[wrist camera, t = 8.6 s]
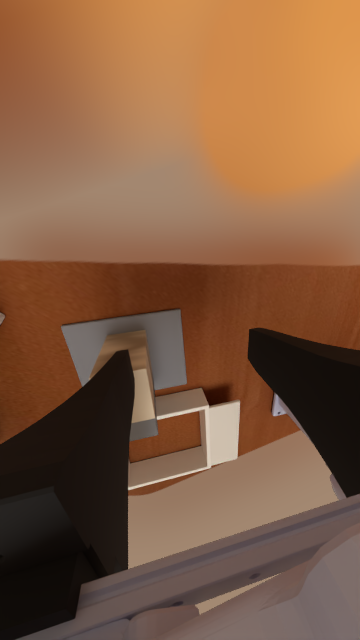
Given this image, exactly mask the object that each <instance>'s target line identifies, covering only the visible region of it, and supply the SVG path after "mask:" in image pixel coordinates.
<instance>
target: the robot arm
mask: <svg viewBox="0 0 360 640" xmlns="http://www.w3.org/2000/svg"><path fill="white" fill-rule="evenodd" d="M248 359H249V361H250V363H251V364H252V366H253V367H254V369H255V370H256V372H257V373H258V374H259V375H260V376H261V377H262V379H263V380H264V381H265V382H266V383H267V384H268V385H269V386H270V388H271V389H272V390H273V391H274V392H275V393H274V400H273V408H272V414H273V416H278V415H282V414H286V413H287V414H288V415H289V417H290V418H291V419H292V420H293V421H294V422H295V423H296V425H297V426H298V427H299V428H300V429H301V430H302V432H303V433H304V434H305V435H306V436H307V437H308V438H309V439H310V440H311V442H312V443H313V444H314V445H315V447H316V449H317V450H318V452H319V453H320V455H321V456H322V458H323V459H324V461H325V463H326V465H327V467H328V468H329V469H330V471H331V472H332V474H331V475H330V480H331V483H332V488H333V490H334V492H335V494H336V496H337V498H338V499H339V501H336V502H333V503H330V504H327V505H324V506H321V507H318V508H314V509H312V510H308V511H305V512H302V513H299V514H296V515H293V516H290V517H287V518H284V519H281V520H278V521H275V522H272V523H268V524H265V525H262V526H259V527H256V528H253V529H250V530H247V531H244V532H241V533H238V534H235V535H232V536H229V537H226V538H222V539H219V540H216V541H213V542H210V543H207V544H204V545H201V546H198V547H195V548H192V549H189V550H186V551H183V552H179V553H176V554H173V555H170V556H167V557H164V558H161V559H158V560H155V561H152V562H149V563H146V564H143V565H140V566H137V567H134V568H130V569H128V465H129V441H130V431H131V423H132V415H133V407H134V399H135V378H134V373H133V369H132V364H131V360H130V355H129V351H128V349H126V350H120V351H116V352H115V353H114V355H113V356H112V357H111V358H110V359H109V360H108V361H107V362H106V364H105V365H104V366H103V367H102V368H101V369H100V370H99V371H98V372H97V373H96V374H95V375H94V376H93V377H92V378H91V379H90V380H89V381H88V382H87V383H86V384H85V385H84V386H83V387H82V388H81V389H80V390H78V391H77V392H76V393H75V394H74V395H72V396H71V397H70V398H69V399H68V400H66V401H65V402H64V403H62V404H61V405H60V406H58V407H57V408H56V409H54V410H53V411H51V412H50V413H49V414H47V415H46V416H44V417H43V418H42V419H40V420H39V421H37V422H36V423H34V424H33V425H31V426H30V427H28V428H27V429H25V430H23V431H22V432H20V433H19V434H17V435H15V436H14V437H12V438H10V439H9V440H7V441H5V442H4V443H2V444H0V640H360V350H354V349H347V348H341V347H336V346H331V345H326V344H321V343H317V342H313V341H309V340H305V339H301V338H297V337H293V336H290V335H286V334H283V333H279V332H276V331H272V330H268V329H264V328H254V329H249V344H248ZM282 572H283V573H282ZM279 573H281V574H279ZM276 574H279V575H277V576H275V577H273V578H271V579H269V580H267V581H265V582H264V583H262V584H260V585H257V586H256V587H254V588H252V589H250V590H248V591H246V592H244V593H242V594H240V595H238V596H236V597H234V598H232V599H230V600H228V601H226V602H224V603H222V604H221V605H218V606H216V607H214V608H212V609H211V610H209V611H207V612H205V613H203V614H201V615H199V610H198V608H197V607H196V606H195V604H198V603H201V602H203V601H206V600H209V599H212V598H214V597H217V596H219V595H222V594H225V593H228V592H231V591H233V590H236V589H239V588H241V587H244V586H246V585H249V584H252V583H255V582H257V581H260V580H263V579H265V578H268V577H271V576H274V575H276Z"/></svg>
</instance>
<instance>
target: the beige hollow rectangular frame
mask: <svg viewBox="0 0 360 640" xmlns="http://www.w3.org/2000/svg"><path fill="white" fill-rule="evenodd" d="M155 401H156V414H157V420H158V419H163V418H167V417H172V416H176V415H181V414H185V413H190V412H194V411H199V413H200V430H201V446H199V447H195V448H191V449H187V450H183V451H179V452H175V453H171V454H167V455H163V456H159V457H155V458H151V459H147V460H143V461H139V462H135V463H131V464H130V461H129V465H128V490H130V489H134V488H138V487H142V486H145V485H149V484H153V483H156V482H160V481H164V480H168V479H171V478H175V477H179V476H183V475H186V474H190V473H194V472H198V471H201V470H205V469H209V468H211V466H212V465H216V464H219V463H223V462H227V461H231V460H234V459H237V453H238V433H239V413H240V401H239V400H235V401H230V402H226V403H221V404H217V405H212V406H209V404H208V402H207V400H206V397H205V395H204V392H203V390H202V388H198V389H193V390H188V391H183V392H178V393H173V394H168V395H164V396H159V397H155Z"/></svg>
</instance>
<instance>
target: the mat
mask: <svg viewBox="0 0 360 640" xmlns="http://www.w3.org/2000/svg"><path fill="white" fill-rule="evenodd" d="M61 328H62V331H63V334H64V337H65V340H66V342H67V345H68V348H69V351H70V354H71V356H72V359H73V362H74V365H75V367H76V370H77V373H78V376H79V379H80V381H81V384H82V387H83V386H84V385H85V384H86V383H87V382H88V381H89V377H90V374H91V372H92V370H93V367H94V365H95V363H96V360H97V358H98V355H99V353H100V351H101V348H102V346H103V344H104V341H105V339H106V336H107V335H114V334H120V333H127V332H134V331H141V330H145V331H146V337H147V343H148V349H149V355H150V361H151V367H152V373H153V379H154V388H155V390H158V389H163V388H168V387H173V386H178V385H183V384H187V379H186V368H185V357H184V345H183V334H182V323H181V312H180V309H174V310H167V311H160V312H152V313H145V314H138V315H131V316H124V317H117V318H109V319H102V320H95V321H88V322H81V323H74V324H67V325H62V326H61Z"/></svg>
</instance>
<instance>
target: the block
mask: <svg viewBox="0 0 360 640" xmlns="http://www.w3.org/2000/svg"><path fill="white" fill-rule="evenodd" d="M126 349H128V351H129V355H130V360H131V364H132V369H133V373H134V378H135V399H134V407H133V415H132V423H131V431H130V441H134V440H138V439H142V438H147V437H151V436H155V435H158V426H157V414H156V401H155V388H154V379H153V373H152V367H151V361H150V355H149V349H148V343H147V337H146V331H145V330H141V331H134V332H127V333H120V334H114V335H107V336H106V339H105V341H104V344H103V346H102V348H101V351H100V353H99V355H98V358H97V360H96V363H95V365H94V367H93V370H92V372H91V374H90V377H89V380H90V379H91V378H92V377H93V376H94V375H95V374H96V373H97V372H98V371H99V370H100V369H101V368H102V367H103V366H104V365H105V364H106V362H107V361H108V360H109V359H110V358H111V357H112V356H113V355H114V353H115V352H116V351H120V350H126Z"/></svg>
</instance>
